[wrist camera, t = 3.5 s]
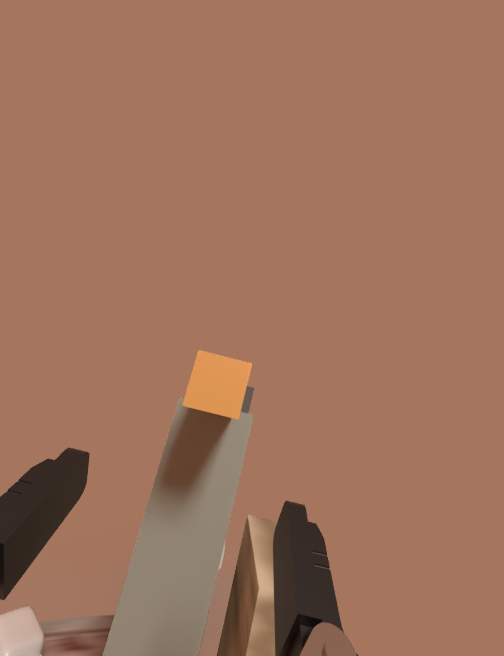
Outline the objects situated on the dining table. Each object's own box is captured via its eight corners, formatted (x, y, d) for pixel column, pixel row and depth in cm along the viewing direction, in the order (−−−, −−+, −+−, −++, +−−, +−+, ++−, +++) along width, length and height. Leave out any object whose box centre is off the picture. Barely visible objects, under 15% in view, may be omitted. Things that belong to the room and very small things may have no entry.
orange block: (233, 405, 38) (239, 380, 39) (238, 419, 17) (252, 363, 18) (208, 399, 38) (215, 374, 39) (182, 405, 17) (198, 349, 18)
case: (177, 706, 31) (252, 391, 39) (141, 925, 18) (263, 389, 26) (111, 691, 30) (200, 378, 39) (28, 902, 18) (187, 370, 26)
